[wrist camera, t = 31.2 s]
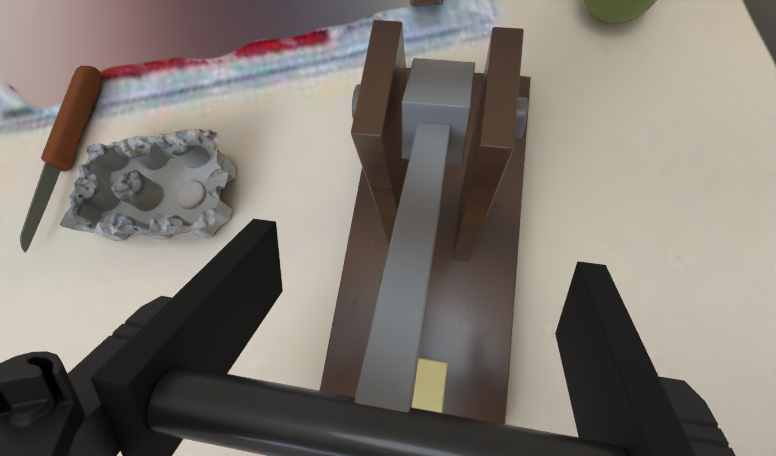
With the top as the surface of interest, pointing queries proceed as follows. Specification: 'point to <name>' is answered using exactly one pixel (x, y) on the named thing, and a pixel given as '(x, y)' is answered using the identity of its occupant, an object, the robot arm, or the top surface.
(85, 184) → the egg carton
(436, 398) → the butter
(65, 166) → the kitchen knife
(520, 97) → the lever base
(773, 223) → the top surface
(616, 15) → the pear
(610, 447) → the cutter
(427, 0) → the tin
